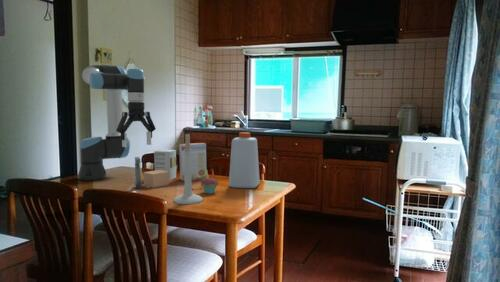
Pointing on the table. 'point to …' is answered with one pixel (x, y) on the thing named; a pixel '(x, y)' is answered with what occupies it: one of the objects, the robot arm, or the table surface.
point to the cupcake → (209, 184)
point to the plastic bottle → (244, 162)
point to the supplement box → (166, 161)
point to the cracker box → (194, 161)
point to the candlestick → (188, 179)
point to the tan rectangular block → (156, 178)
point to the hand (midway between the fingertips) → (137, 145)
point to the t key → (137, 173)
